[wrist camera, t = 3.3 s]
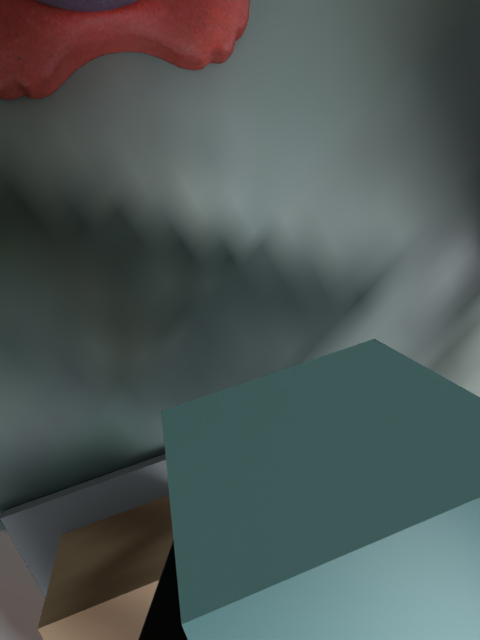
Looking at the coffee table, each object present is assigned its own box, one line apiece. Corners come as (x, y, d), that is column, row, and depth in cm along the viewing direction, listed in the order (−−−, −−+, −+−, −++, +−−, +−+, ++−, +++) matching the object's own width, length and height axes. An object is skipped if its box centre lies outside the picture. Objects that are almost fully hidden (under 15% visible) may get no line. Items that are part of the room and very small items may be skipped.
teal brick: (374, 339, 9) (580, 454, 5) (397, 506, 11) (568, 705, 6) (161, 410, 8) (180, 624, 4) (221, 580, 10) (280, 860, 6)
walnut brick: (181, 489, 20) (192, 566, 15) (212, 575, 22) (229, 663, 17) (61, 534, 19) (37, 628, 15) (104, 619, 21) (94, 724, 16)
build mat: (208, 438, 20) (209, 443, 19) (252, 578, 23) (254, 586, 23) (3, 510, 18) (0, 518, 18) (81, 649, 21) (80, 659, 21)
